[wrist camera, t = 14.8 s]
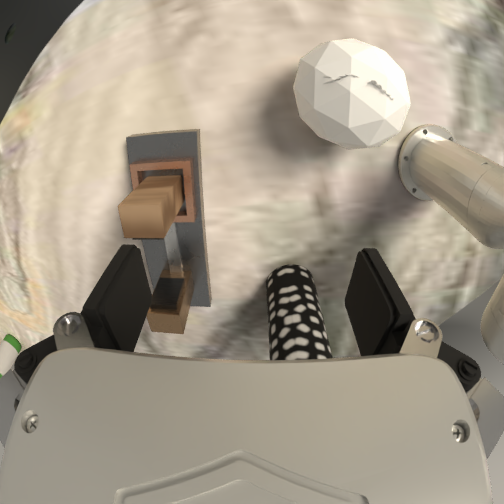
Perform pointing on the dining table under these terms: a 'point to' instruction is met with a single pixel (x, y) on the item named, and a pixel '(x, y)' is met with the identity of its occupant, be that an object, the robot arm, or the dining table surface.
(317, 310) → the white-spotted black cylinder
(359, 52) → the geodesic sphere
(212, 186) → the dining table surface
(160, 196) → the gripped brown wooden block
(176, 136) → the rail
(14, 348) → the wine bottle
